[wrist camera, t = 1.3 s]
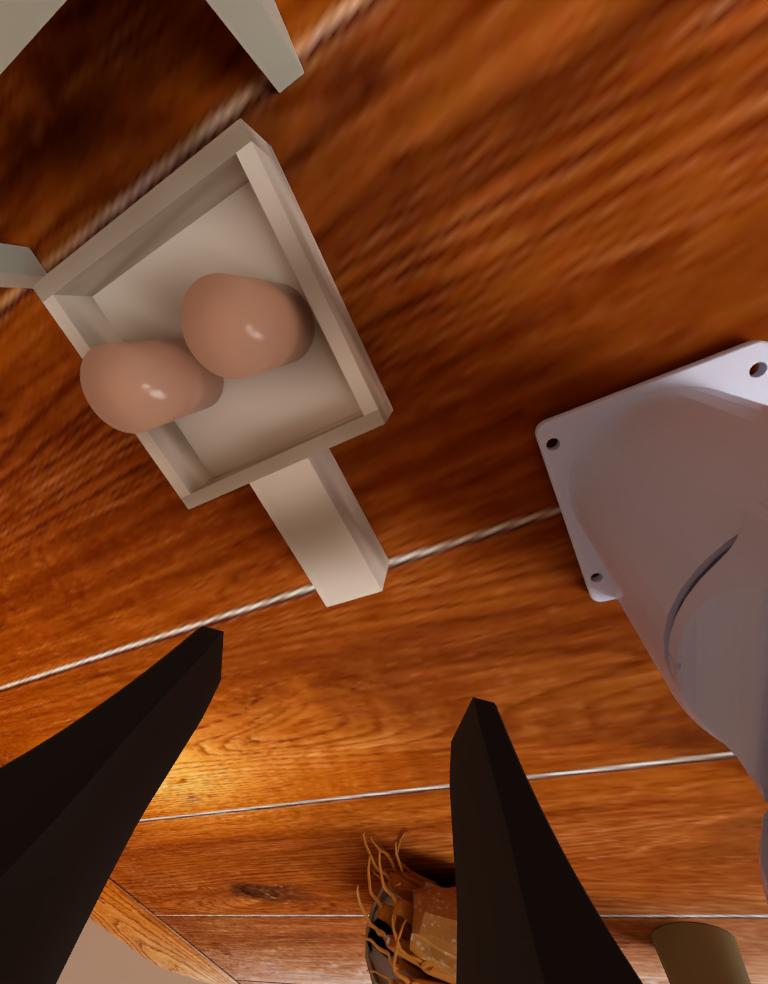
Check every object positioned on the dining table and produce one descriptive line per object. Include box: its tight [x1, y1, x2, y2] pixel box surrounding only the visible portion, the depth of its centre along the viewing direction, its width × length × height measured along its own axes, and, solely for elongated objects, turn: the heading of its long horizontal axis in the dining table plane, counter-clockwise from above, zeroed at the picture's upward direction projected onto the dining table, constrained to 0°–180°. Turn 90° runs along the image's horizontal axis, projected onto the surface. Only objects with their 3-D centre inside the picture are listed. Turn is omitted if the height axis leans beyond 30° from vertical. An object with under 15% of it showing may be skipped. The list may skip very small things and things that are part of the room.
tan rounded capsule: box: [180, 273, 315, 379], centre depth 14 cm, size 3×3×4 cm
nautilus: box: [357, 830, 457, 984], centre depth 30 cm, size 8×22×15 cm
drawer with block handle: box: [31, 118, 393, 607], centre depth 17 cm, size 17×10×2 cm, turn 26°
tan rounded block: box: [80, 338, 224, 434], centre depth 15 cm, size 3×3×4 cm
